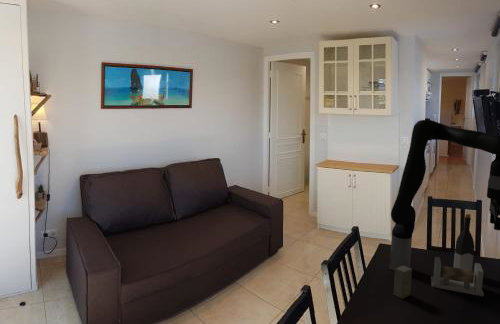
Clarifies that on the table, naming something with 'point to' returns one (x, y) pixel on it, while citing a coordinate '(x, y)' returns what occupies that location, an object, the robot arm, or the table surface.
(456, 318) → the table surface
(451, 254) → the table surface
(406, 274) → the skincare box
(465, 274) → the brown wooden block
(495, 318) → the table surface
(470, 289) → the frame
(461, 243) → the wine bottle
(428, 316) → the table surface
